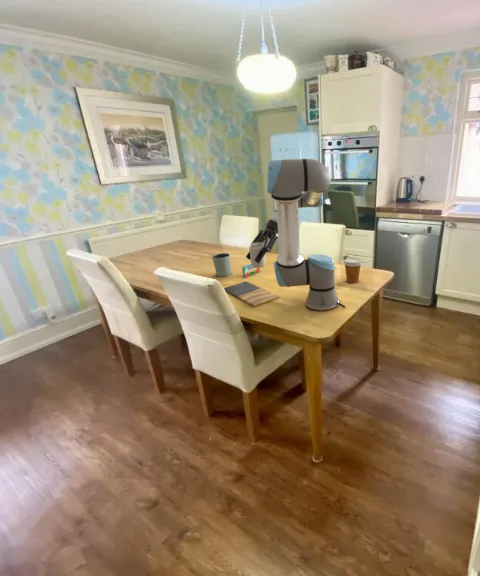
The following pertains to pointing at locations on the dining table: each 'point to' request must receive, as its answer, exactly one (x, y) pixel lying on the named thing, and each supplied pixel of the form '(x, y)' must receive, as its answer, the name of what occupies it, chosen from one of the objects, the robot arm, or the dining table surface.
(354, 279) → the disposable coffee cup
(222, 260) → the grey cylindrical pot
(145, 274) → the dining table surface
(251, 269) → the colorful food box
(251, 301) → the board
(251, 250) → the can
